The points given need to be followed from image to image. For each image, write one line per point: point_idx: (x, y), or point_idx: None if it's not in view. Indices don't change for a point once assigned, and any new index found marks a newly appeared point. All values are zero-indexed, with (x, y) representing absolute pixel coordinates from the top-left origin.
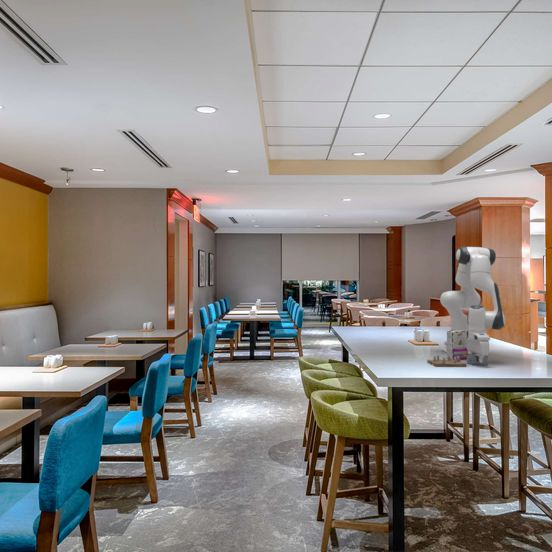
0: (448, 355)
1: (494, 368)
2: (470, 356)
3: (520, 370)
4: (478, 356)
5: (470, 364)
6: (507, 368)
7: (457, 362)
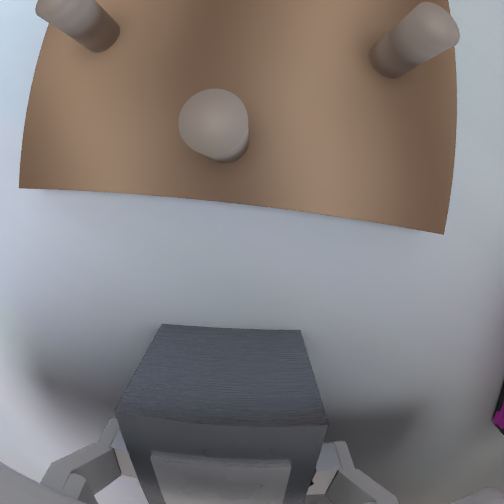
0: (416, 6)
1: (16, 404)
2: (155, 408)
3: (11, 467)
4: (146, 487)
5: (188, 328)
6: (46, 468)
7: (145, 89)
